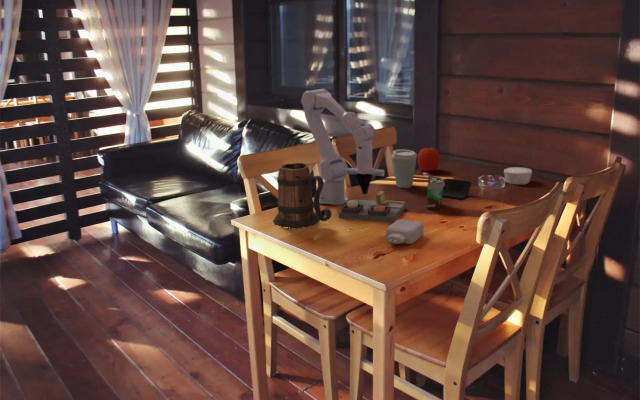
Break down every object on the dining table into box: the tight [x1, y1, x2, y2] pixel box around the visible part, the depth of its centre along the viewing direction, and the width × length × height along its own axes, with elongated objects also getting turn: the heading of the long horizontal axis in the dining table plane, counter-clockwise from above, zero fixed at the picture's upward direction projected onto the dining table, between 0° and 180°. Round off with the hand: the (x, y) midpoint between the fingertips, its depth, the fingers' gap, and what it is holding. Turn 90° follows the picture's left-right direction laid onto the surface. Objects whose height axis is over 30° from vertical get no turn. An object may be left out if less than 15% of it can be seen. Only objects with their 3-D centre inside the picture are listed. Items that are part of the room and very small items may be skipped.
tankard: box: [272, 162, 332, 229], centre depth 204 cm, size 24×17×20 cm
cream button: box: [346, 199, 358, 209], centre depth 211 cm, size 4×4×2 cm
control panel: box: [338, 198, 406, 224], centre depth 214 cm, size 20×17×4 cm
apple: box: [417, 147, 441, 172], centre depth 270 cm, size 10×10×12 cm
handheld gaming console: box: [442, 178, 472, 201], centre depth 232 cm, size 12×7×10 cm
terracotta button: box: [374, 205, 385, 212], centre depth 207 cm, size 4×4×2 cm
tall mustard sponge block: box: [375, 190, 389, 205], centre depth 216 cm, size 3×5×4 cm, turn 158°
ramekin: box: [503, 166, 533, 186], centre depth 247 cm, size 11×11×5 cm
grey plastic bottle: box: [385, 218, 425, 245], centre depth 186 cm, size 5×9×15 cm
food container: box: [426, 175, 445, 210], centre depth 219 cm, size 12×6×10 cm, turn 168°
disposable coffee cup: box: [390, 149, 418, 189], centre depth 245 cm, size 11×11×15 cm
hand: (365, 193), depth 219 cm, fingers closed
